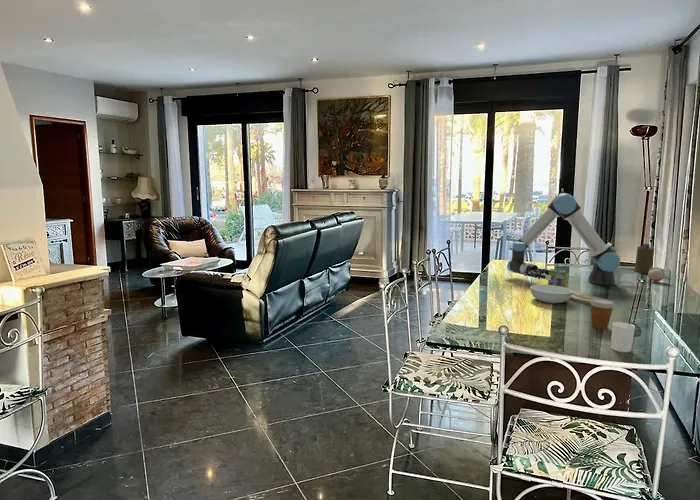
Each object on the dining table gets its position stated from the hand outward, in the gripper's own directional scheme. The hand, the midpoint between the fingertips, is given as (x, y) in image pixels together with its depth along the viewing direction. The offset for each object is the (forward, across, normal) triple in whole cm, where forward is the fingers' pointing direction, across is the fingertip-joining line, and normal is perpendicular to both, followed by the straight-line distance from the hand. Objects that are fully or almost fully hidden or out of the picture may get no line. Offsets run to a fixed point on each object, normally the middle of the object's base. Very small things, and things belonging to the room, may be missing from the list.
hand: (558, 277), depth 291 cm
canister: (-13, -104, -8) cm, 105 cm away
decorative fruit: (+10, -80, -8) cm, 81 cm away
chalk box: (-1, 0, -8) cm, 8 cm away
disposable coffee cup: (+55, +40, -8) cm, 68 cm away
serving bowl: (+14, +24, -8) cm, 29 cm away
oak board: (+18, +4, -8) cm, 20 cm away
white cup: (+77, +58, -8) cm, 97 cm away
